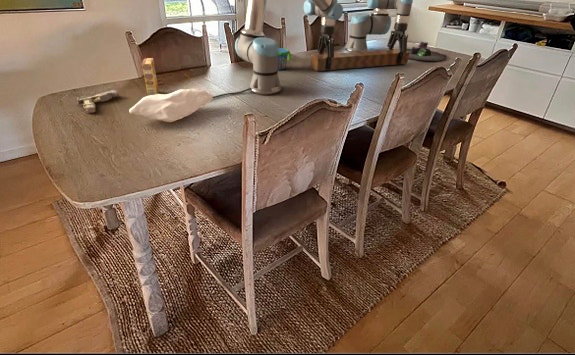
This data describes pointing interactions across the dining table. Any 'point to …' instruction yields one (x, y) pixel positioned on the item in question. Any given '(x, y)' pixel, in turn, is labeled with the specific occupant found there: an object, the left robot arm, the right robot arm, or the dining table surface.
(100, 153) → the dining table surface
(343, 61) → the thick board
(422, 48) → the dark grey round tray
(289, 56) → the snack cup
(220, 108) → the dining table surface
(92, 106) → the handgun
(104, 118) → the dining table surface
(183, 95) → the crumpled cloth
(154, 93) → the candy box
